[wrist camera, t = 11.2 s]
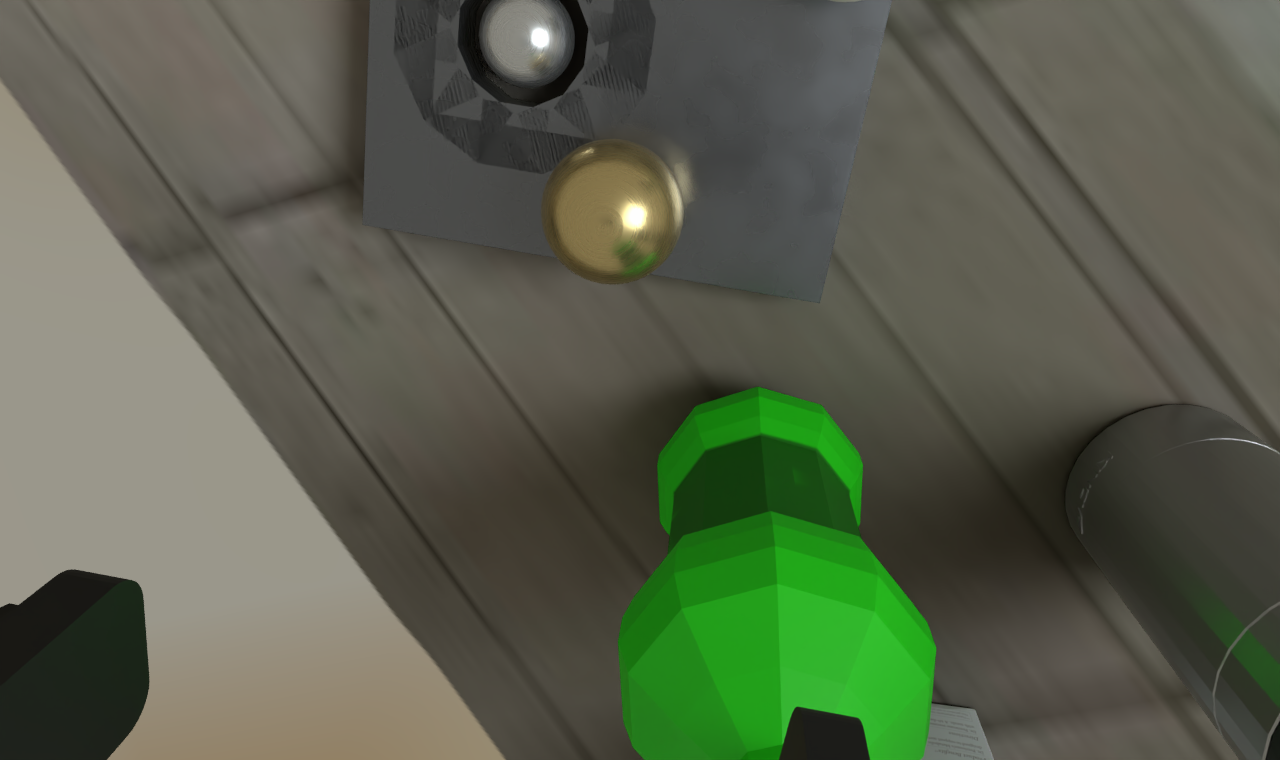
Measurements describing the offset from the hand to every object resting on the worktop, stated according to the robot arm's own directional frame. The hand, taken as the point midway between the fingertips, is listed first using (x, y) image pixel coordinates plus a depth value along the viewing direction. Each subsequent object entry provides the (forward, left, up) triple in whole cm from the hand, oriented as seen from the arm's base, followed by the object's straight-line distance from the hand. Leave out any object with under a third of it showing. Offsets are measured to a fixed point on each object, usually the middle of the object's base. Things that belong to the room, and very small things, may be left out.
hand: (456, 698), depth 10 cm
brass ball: (+2, -1, -27) cm, 27 cm away
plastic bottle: (-7, +11, -32) cm, 35 cm away
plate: (+3, -7, -32) cm, 33 cm away
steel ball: (+6, -7, -30) cm, 32 cm away
